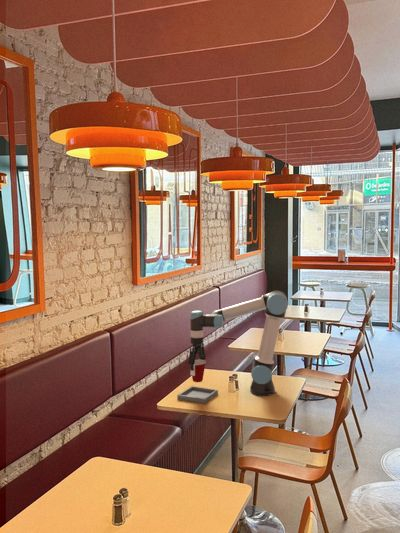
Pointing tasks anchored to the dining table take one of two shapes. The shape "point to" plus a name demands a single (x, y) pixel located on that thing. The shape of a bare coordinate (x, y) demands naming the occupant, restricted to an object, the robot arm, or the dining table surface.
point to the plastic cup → (199, 370)
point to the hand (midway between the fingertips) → (197, 372)
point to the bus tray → (197, 394)
